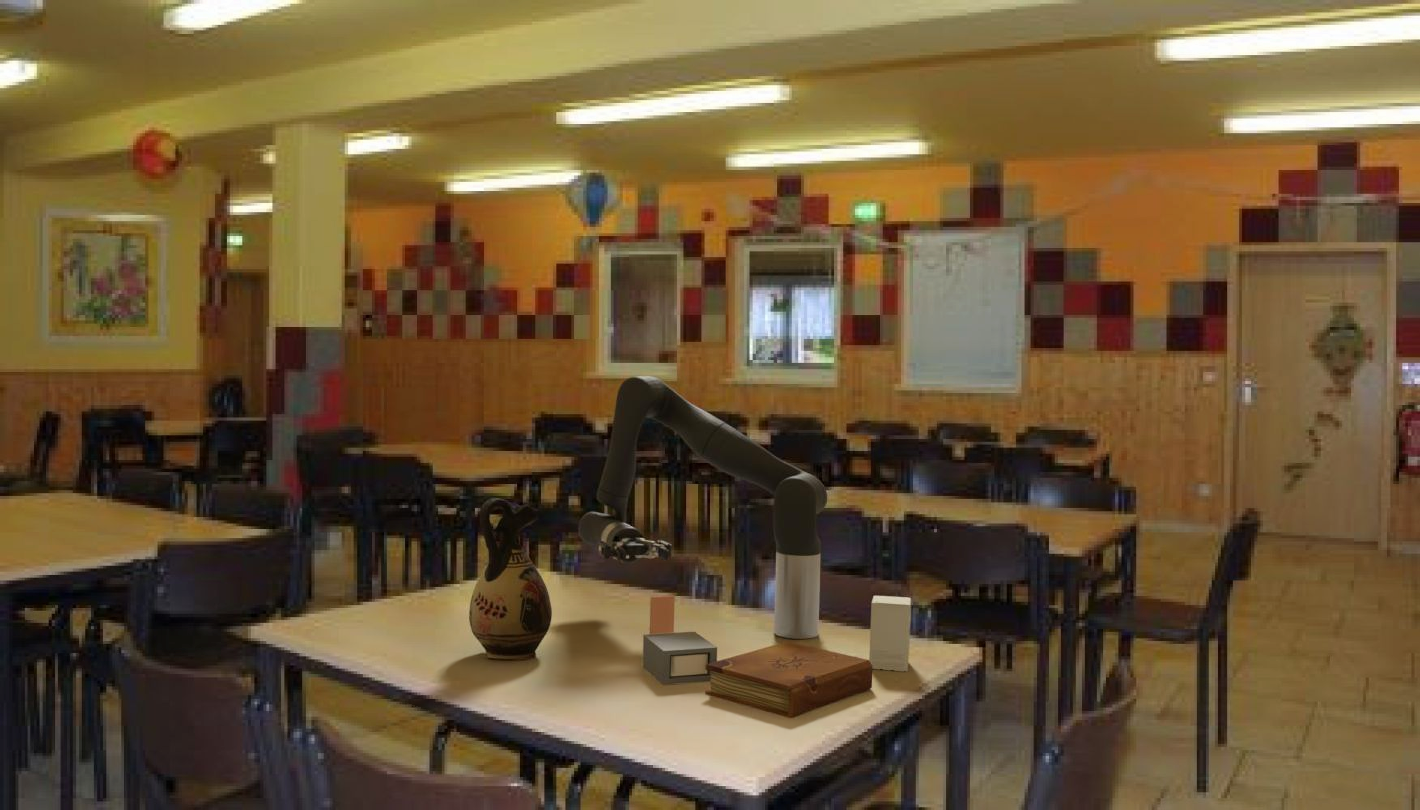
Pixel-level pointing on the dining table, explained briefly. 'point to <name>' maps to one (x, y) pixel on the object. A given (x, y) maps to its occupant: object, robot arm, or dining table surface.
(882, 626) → the supplement box
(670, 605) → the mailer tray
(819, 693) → the diary
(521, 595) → the ceramic jug
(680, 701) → the dining table surface
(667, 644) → the sleeve
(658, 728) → the dining table surface
